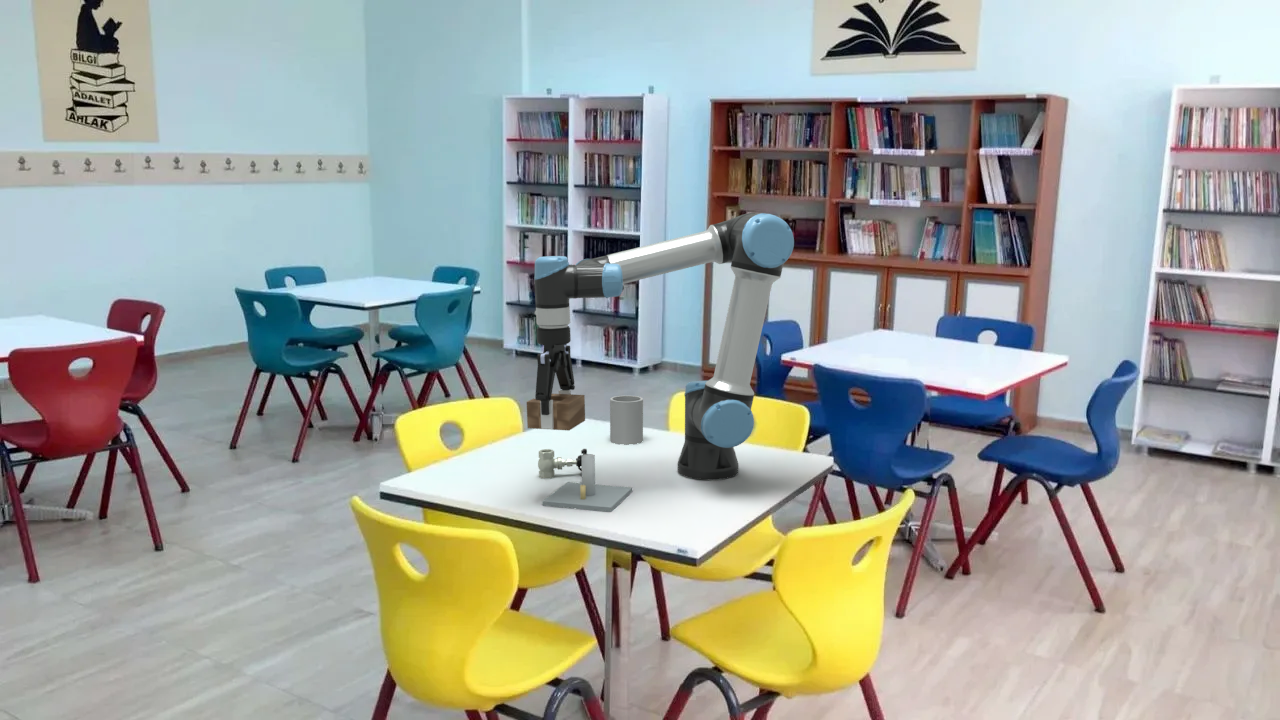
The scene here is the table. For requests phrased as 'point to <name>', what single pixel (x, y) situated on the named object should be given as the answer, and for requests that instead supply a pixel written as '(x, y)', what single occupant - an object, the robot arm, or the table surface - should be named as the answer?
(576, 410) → the brown u-shaped block
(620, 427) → the cup
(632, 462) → the table surface
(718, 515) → the table surface
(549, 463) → the valve
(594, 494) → the post board
